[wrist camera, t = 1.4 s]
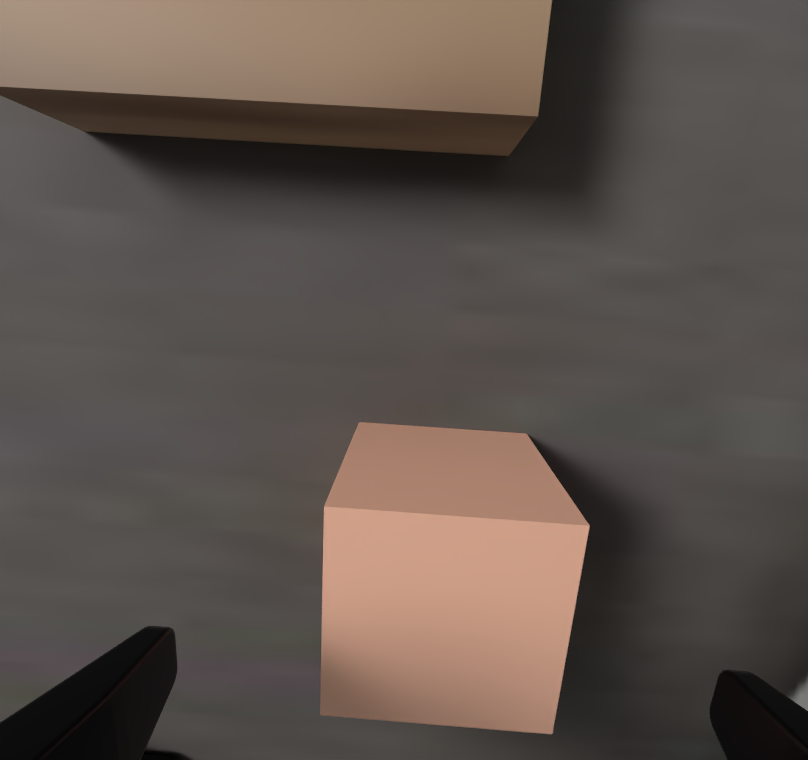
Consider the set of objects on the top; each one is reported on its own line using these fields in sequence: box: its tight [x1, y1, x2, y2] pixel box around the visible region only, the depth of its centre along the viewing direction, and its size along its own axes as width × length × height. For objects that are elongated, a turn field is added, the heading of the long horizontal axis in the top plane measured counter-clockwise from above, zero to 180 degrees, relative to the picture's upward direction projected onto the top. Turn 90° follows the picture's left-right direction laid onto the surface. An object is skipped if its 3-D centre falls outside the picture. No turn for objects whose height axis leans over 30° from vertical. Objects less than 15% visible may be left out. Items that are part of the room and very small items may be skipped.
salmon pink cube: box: [320, 422, 590, 734], centre depth 10 cm, size 4×4×4 cm
